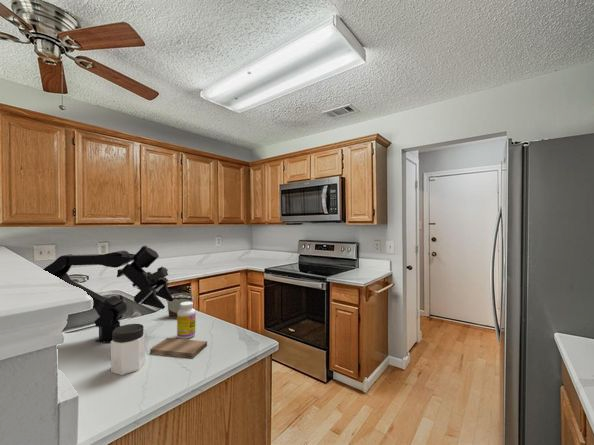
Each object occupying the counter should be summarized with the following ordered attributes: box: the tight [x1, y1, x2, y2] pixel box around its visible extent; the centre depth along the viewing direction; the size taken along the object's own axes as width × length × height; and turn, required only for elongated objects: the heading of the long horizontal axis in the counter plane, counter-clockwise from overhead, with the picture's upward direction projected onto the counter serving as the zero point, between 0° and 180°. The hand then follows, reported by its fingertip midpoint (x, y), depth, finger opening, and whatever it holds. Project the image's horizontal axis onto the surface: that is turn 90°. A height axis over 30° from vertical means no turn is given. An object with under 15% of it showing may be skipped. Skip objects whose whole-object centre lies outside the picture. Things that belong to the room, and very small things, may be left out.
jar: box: [110, 323, 146, 376], centre depth 84 cm, size 9×8×12 cm
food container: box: [165, 292, 195, 319], centre depth 129 cm, size 12×6×10 cm, turn 92°
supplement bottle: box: [176, 301, 196, 340], centre depth 107 cm, size 7×7×13 cm
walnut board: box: [149, 337, 208, 359], centre depth 96 cm, size 16×9×2 cm, turn 80°
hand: (168, 304), depth 106 cm, fingers open, 9 cm apart
